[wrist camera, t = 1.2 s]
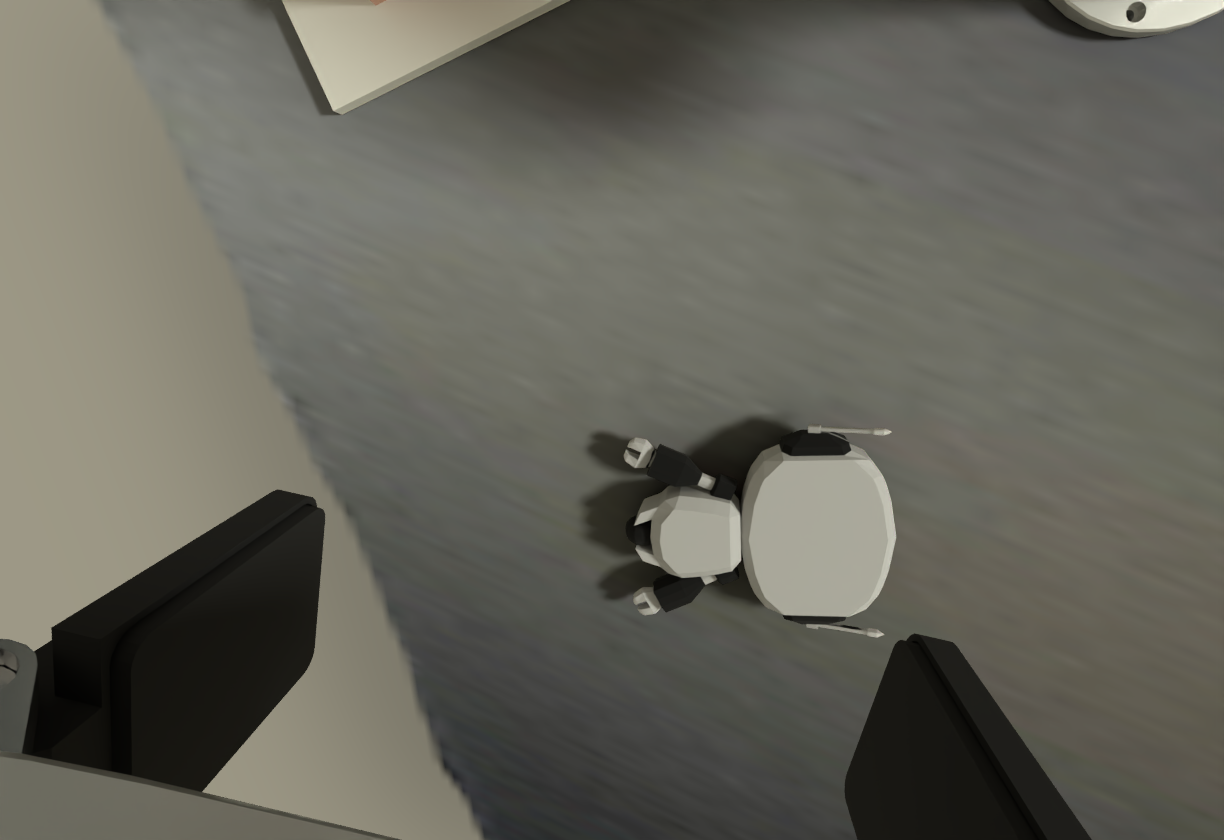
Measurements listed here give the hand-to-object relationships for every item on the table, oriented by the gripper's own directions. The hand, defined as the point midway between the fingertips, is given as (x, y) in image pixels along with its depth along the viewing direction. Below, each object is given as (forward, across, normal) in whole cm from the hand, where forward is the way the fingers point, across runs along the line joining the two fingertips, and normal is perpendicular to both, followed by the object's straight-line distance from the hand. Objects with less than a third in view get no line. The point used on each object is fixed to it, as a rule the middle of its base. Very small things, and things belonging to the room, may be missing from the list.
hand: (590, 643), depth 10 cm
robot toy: (+29, -8, +8) cm, 31 cm away
